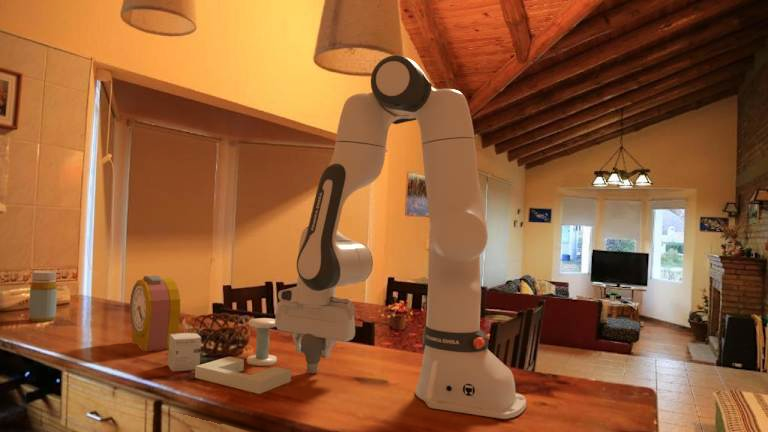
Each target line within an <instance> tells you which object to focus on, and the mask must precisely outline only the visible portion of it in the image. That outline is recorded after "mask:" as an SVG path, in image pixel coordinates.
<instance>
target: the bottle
mask: <svg viewBox="0 0 768 432" xmlns="http://www.w3.org/2000/svg"><path fill="white" fill-rule="evenodd" d="M31 275H32V276H31V278H32V281H31V282H32V283H31V285H30V287H29V300H28V301H29V304H28V320H29V321H30V322H31V323H48V322H53V321H54V320H55V319H56V316H57V302H58V301H57V296H58V285H57V281H56V280H57V271H55V270H34V271H32V274H31Z"/></svg>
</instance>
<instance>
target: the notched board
mask: <svg viewBox="0 0 768 432" xmlns="http://www.w3.org/2000/svg"><path fill="white" fill-rule="evenodd" d="M244 362H245V360H244V359H242V358H237V357H234V356H227V357H223V358H219V359H216V360H212V361H209V362H206V363H202V364H200V365H198V366H196V368H195V370H194V378H195V379H200V380H202V381H207V382H211V383H215V384H218V385H223V386H227V387H230V388H235V389H239V390H242V391H245V392H250V393H255V394H258V395H260V394H263V393H266V392H269V391H270V390H273V389H275V388H278V387H280V386H283V385H285V384H288V383H290V382H291V380H292V378H291V377H292V370H291V369H287V368H284V367H280V366H279V367H278V366H273V367H269V368H266V369H263V370H260V371H258V372H255V373H252V374H248V373H247V374H246V373H242V372H243V371H244V367H245V366H244Z"/></svg>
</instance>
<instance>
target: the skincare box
mask: <svg viewBox="0 0 768 432" xmlns="http://www.w3.org/2000/svg"><path fill="white" fill-rule="evenodd" d="M201 345H202V336H200V335H199V334H198V333H197V332H183V333H182V332H181V333H178V334H170V336H169V349H168V357H167V366H168V367H169V370H170V371H171V370H172V371H171V372H172V373H173V372H175V373H176V372H183V371H193V370H194V371H195V368H196V366H198V365H201V364H200V363H201V348H202V347H201Z"/></svg>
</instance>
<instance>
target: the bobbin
mask: <svg viewBox="0 0 768 432" xmlns="http://www.w3.org/2000/svg"><path fill="white" fill-rule="evenodd" d="M248 326H249V327H252V328H256V342H255V343H256V344H255V345H256V346H255V354H251V355H249V356H247V358H246V363H247V364H248V365H250V366H255V367H268V366H273V365H275V364H276V363H277V359H278V358H277V356H276V355H272V354H269V352H270V350H269V349H270V334H271V333H270V332H271V329H273V328H275V327H276V325H275V318H269V317H268V318H267V317H261V318H260V317H259V318H256V317H255V318H252V319H249V320H248ZM276 328H277V327H276Z"/></svg>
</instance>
